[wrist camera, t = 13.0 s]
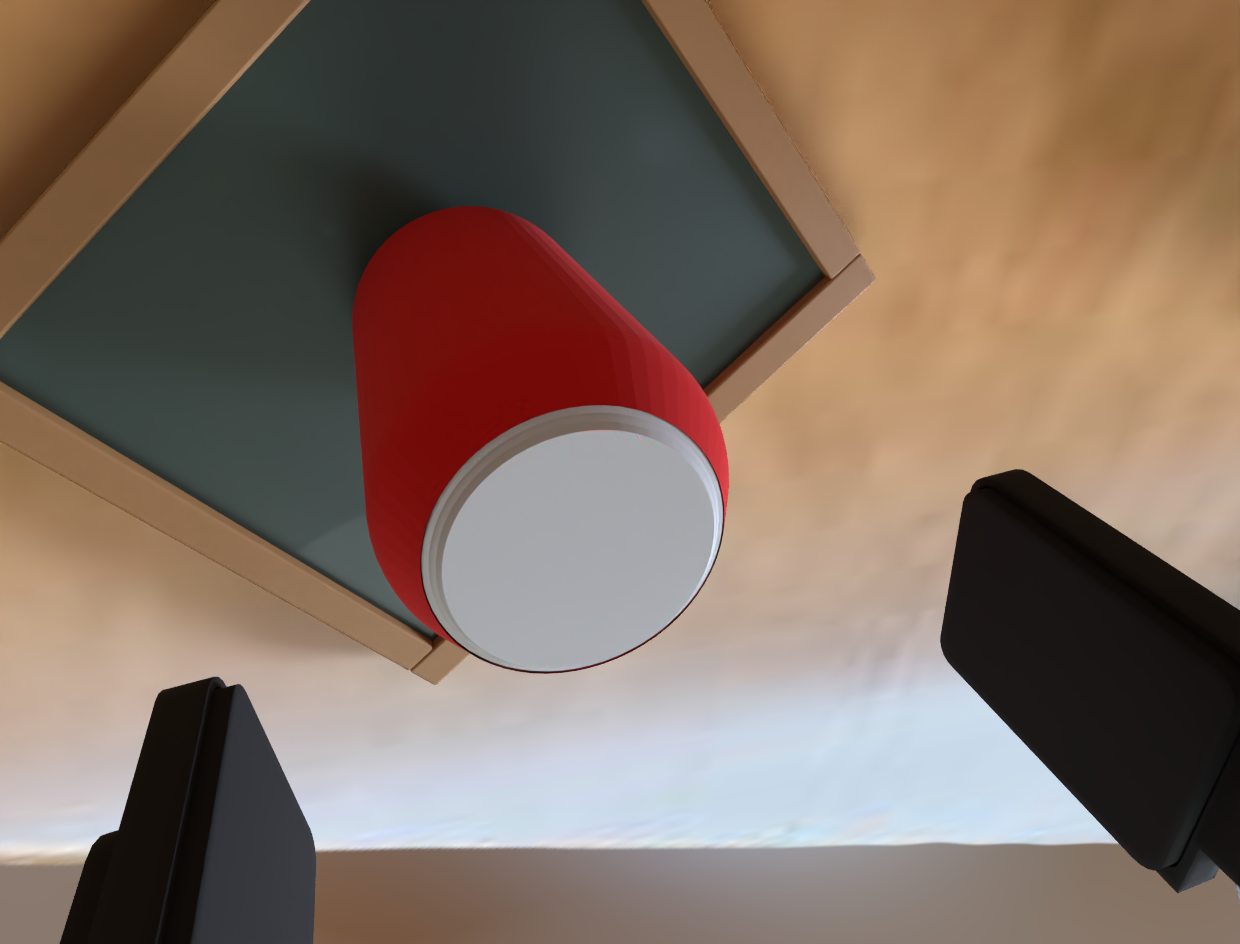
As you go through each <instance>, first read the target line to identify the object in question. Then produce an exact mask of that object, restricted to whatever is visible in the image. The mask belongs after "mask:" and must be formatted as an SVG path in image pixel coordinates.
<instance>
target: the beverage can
mask: <svg viewBox="0 0 1240 944" xmlns="http://www.w3.org/2000/svg"><path fill="white" fill-rule="evenodd" d="M352 331H353V346H354V359H355V373H356V386H357V399H358V413H359V426H360V440H361V453H362V467H363V480H364V494H365V507H366V519H367V525H368V530H369V536H370V540H371V543H372V546H373V550H374V553H375V556H376V559H377V561H378V563H379V565H380V567H381V569H382V572H383V574H384V576H385V578H386V579H387V581H388V582H389V584H390V586H391V587H392V589H393V590H394V592H395V593H396V595H397V596H398V597H399V599H400V600H401V601H402V602H403V604H404V605H405V606H406V607H407V608H408V610H409V611H410V612H411V613H412V614H413V615H415V616H416V617H417V618H418V619H419V620H420V621H421V622H422V623H423V624H424V625H426V626H427V627H428V628H430V629H431V630H432V631H434V632H435V633H436V634H438V635H439V636H441V637H443V638H444V639H446V640H448V641H450V642H451V643H453V644H455V645H456V646H458V647H460V648H462V649H463V650H465V651H467V652H469V653H470V654H472V655H474V656H475V657H477V658H479V659H481V660H483V661H486V662H488V663H490V664H493V665H496V666H499V667H502V668H505V669H510V670H514V671H519V672H527V673H544V674H548V673H563V672H571V671H577V670H582V669H586V668H591V667H594V666H597V665H601V664H604V663H606V662H609V661H612V660H614V659H617V658H619V657H621V656H623V655H625V654H627V653H630V652H632V651H633V650H635V649H637V648H639V647H640V646H642V645H644V644H645V643H647V642H648V641H650V640H651V639H653V638H654V637H656V636H657V635H658V634H660V633H661V632H662V631H663V630H665V629H666V628H667V627H668V626H669V625H670V624H672V623H673V622H674V621H675V620H676V619H677V618H678V617H679V616H680V615H681V614H682V613H683V612H684V610H685V609H686V608H687V607H688V606H689V605H690V604H691V602H692V601H693V600H694V598H695V597H696V596H697V594H698V593H699V591H700V590H701V588H702V587H703V585H704V584H705V582H706V580H707V578H708V576H709V574H710V572H711V570H712V568H713V566H714V563H715V561H716V559H717V555H718V552H719V549H720V546H721V541H722V536H723V530H724V522H725V515H726V507H727V499H728V488H729V467H728V459H727V452H726V446H725V442H724V438H723V434H722V430H721V427H720V425H719V422H718V419H717V417H716V414H715V412H714V409H713V407H712V406H711V404H710V402H709V400H708V398H707V396H706V394H705V393H704V391H703V390H702V388H701V387H700V385H699V384H698V383H697V381H696V380H695V378H694V377H693V376H692V375H691V373H690V372H689V371H688V370H687V369H686V368H685V367H684V366H683V365H682V364H681V363H680V362H679V361H678V360H677V359H676V358H675V357H674V356H673V355H672V354H671V353H670V352H669V351H668V350H667V349H666V348H665V347H664V346H663V345H662V344H661V343H660V342H659V341H658V340H657V339H656V338H655V337H654V336H652V335H651V334H650V333H649V332H648V331H647V330H646V329H645V328H644V327H643V326H642V325H641V324H640V323H639V322H638V321H637V320H636V319H635V318H634V317H633V316H632V315H631V314H630V313H629V312H628V311H627V310H626V309H624V308H623V307H622V306H621V305H620V304H619V303H618V302H617V301H616V300H615V299H614V298H613V297H612V296H611V295H610V294H609V293H608V292H607V291H606V290H605V289H604V288H603V287H602V286H601V285H600V284H599V283H598V282H596V281H595V280H594V279H593V278H592V277H591V276H590V275H589V274H588V273H587V272H586V271H585V270H584V269H583V268H582V267H581V266H580V265H579V264H578V263H577V262H576V261H575V260H574V259H573V258H572V257H571V256H570V255H568V254H567V253H566V252H565V251H564V250H563V249H562V248H561V247H560V246H559V245H558V244H557V243H556V242H555V241H554V240H553V239H552V238H551V237H550V236H548V235H547V234H546V233H545V232H544V231H542V230H541V229H540V228H538V227H537V226H535V225H534V224H532V223H530V222H529V221H527V220H525V219H523V218H521V217H519V216H516V215H514V214H511V213H509V212H505V211H502V210H498V209H494V208H488V207H478V206H462V207H453V208H447V209H442V210H439V211H435V212H431V213H429V214H426V215H424V216H421V217H419V218H417V219H415V220H414V221H412V222H410V223H408V224H406V225H405V226H404V227H402V228H401V229H399V230H398V231H396V232H395V233H394V234H393V235H392V236H391V237H390V238H388V239H387V240H386V241H385V242H384V243H383V245H382V246H381V247H380V248H379V249H378V250H377V252H376V253H375V254H374V256H373V257H372V258H371V260H370V262H369V263H368V265H367V267H366V269H365V270H364V272H363V275H362V277H361V279H360V282H359V284H358V288H357V291H356V295H355V299H354V305H353V313H352Z"/></svg>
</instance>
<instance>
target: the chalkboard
mask: <svg viewBox="0 0 1240 944" xmlns="http://www.w3.org/2000/svg"><path fill="white" fill-rule="evenodd" d="M462 206H478V207H488V208H494V209H498V210H502V211H505V212H509V213H511V214H514V215H516V216H519V217H521V218H523V219H525V220H527V221H529V222H530V223H532V224H534V225H535V226H537V227H538V228H540V229H541V230H542V231H544V232H545V233H546V234H547V235H548V236H550V237H551V238H552V239H553V240H554V241H555V242H556V243H557V244H558V245H559V246H560V247H561V248H562V249H563V250H564V251H565V252H566V253H567V254H568V255H570V256H571V257H572V258H573V259H574V260H575V261H576V262H577V263H578V264H579V265H580V266H581V267H582V268H583V269H584V270H585V271H586V272H587V273H588V274H589V275H590V276H591V277H592V278H593V279H594V280H595V281H596V282H598V283H599V284H600V285H601V286H602V287H603V288H604V289H605V290H606V291H607V292H608V293H609V294H610V295H611V296H612V297H613V298H614V299H615V300H616V301H617V302H618V303H619V304H620V305H621V306H622V307H623V308H624V309H626V310H627V311H628V312H629V313H630V314H631V315H632V316H633V317H634V318H635V319H636V320H637V321H638V322H639V323H640V324H641V325H642V326H643V327H644V328H645V329H646V330H647V331H648V332H649V333H650V334H651V335H652V336H654V337H655V338H656V339H657V340H658V341H659V342H660V343H661V344H662V345H663V346H664V347H665V348H666V349H667V350H668V351H669V352H670V353H671V354H672V355H673V356H674V357H675V358H676V359H677V360H678V361H679V362H680V363H681V364H682V365H683V366H684V367H685V368H686V369H687V370H688V371H689V372H690V373H691V375H692V376H693V377H694V378H695V380H696V381H697V383H698V384H699V385H700V387H701V388H702V390H703V391H704V393H705V394H706V396H707V398H708V400H709V402H710V404H711V406H712V407H713V409H714V412H715V414H716V417H717V419H718V422H719V424H720V423H721V422H722V421H723V420H725V419H726V418H727V417H728V416H729V415H730V414H731V413H732V412H733V411H734V410H735V409H736V408H738V407H739V406H740V405H741V404H742V403H743V402H744V401H745V400H746V399H747V398H748V397H749V396H751V395H752V394H753V393H754V392H755V391H756V390H757V389H758V388H759V387H760V386H761V385H763V384H764V383H765V382H766V381H767V380H768V379H769V378H770V377H771V376H772V375H773V374H774V373H776V372H777V371H778V370H779V369H780V368H781V367H782V366H783V365H784V364H785V363H786V362H788V361H789V360H790V359H791V358H792V357H793V356H794V355H795V354H796V353H797V352H798V351H799V350H801V349H802V348H803V347H804V346H805V345H806V344H807V343H808V342H809V341H810V340H811V339H813V338H814V337H815V336H816V335H817V334H818V333H819V332H820V331H821V330H822V329H823V328H824V327H826V326H827V325H828V324H829V323H830V322H831V321H832V320H833V319H834V318H835V317H836V316H838V315H839V314H840V313H841V312H842V311H843V310H844V309H845V308H846V307H847V306H848V305H849V304H851V303H852V302H853V301H854V300H855V299H856V298H857V297H858V296H859V295H860V294H861V293H863V292H864V291H865V290H866V289H867V288H868V287H869V286H870V285H871V284H872V283H873V282H874V281H875V280H876V278H875V276H874V274H873V273H872V271H871V269H870V268H869V266H868V264H867V263H866V261H865V260H864V258H863V256H862V255H861V254H860V251H859V249H858V247H857V246H856V244H855V243H854V241H853V239H852V238H851V236H850V234H849V233H848V231H847V230H846V228H845V226H844V225H843V223H842V221H841V220H840V218H839V217H838V215H837V213H836V212H835V210H834V208H833V207H832V205H831V204H830V202H829V200H828V199H827V197H826V195H825V194H824V192H823V191H822V189H821V187H820V186H819V184H818V183H817V181H816V179H815V178H814V176H813V174H812V173H811V171H810V170H809V168H808V166H807V165H806V163H805V161H804V160H803V158H802V157H801V155H800V153H799V152H798V150H797V148H796V147H795V145H794V144H793V142H792V140H791V139H790V137H789V135H788V134H787V132H786V131H785V129H784V127H783V126H782V124H781V123H780V121H779V119H778V118H777V116H776V114H775V113H774V111H773V110H772V108H771V106H770V105H769V103H768V101H767V100H766V98H765V97H764V95H763V93H762V92H761V90H760V88H759V87H758V85H757V84H756V82H755V80H754V79H753V77H752V75H751V74H750V72H749V71H748V69H747V67H746V66H745V64H744V63H743V61H742V59H741V58H740V56H739V54H738V53H737V51H736V50H735V48H734V46H733V45H732V43H731V41H730V40H729V38H728V37H727V35H726V33H725V32H724V30H723V28H722V27H721V25H720V24H719V22H718V20H717V19H716V17H715V15H714V14H713V12H712V11H711V9H710V7H709V6H708V4H707V3H706V1H705V0H215V2H214V3H213V4H212V5H211V6H210V7H209V8H208V9H207V11H206V12H205V13H204V14H203V15H202V16H201V17H200V18H199V19H198V21H197V22H196V23H195V24H194V25H193V26H192V27H191V28H190V29H189V31H188V32H187V33H186V34H185V35H184V36H183V37H182V38H181V40H180V41H179V42H178V43H177V44H176V45H175V46H174V47H173V48H172V50H171V51H170V52H169V53H168V54H167V55H166V56H165V57H164V58H163V60H162V61H161V62H160V63H159V64H158V65H157V66H156V67H155V69H154V70H153V71H152V72H151V73H150V74H149V75H148V76H147V77H146V79H145V80H144V81H143V82H142V83H141V84H140V85H139V86H138V87H137V89H136V90H135V91H134V92H133V93H132V94H131V95H130V96H129V97H128V99H127V100H126V101H125V102H124V103H123V104H122V105H121V106H120V108H119V109H118V110H117V111H116V112H115V113H114V114H113V115H112V116H111V118H110V119H109V120H108V121H107V122H106V123H105V124H104V125H103V126H102V128H101V129H100V130H99V131H98V132H97V133H96V134H95V135H94V137H93V138H92V139H91V140H90V141H89V142H88V143H87V144H86V145H85V147H84V148H83V149H82V150H81V151H80V152H79V153H78V154H77V155H76V157H75V158H74V159H73V160H72V161H71V162H70V163H69V164H68V165H67V167H66V168H65V169H64V170H63V171H62V172H61V173H60V174H59V176H58V177H57V178H56V179H55V180H54V181H53V182H52V183H51V184H50V186H49V187H48V188H47V189H46V190H45V191H44V192H43V193H42V194H41V196H40V197H39V198H38V199H37V200H36V201H35V202H34V203H33V205H32V206H31V207H30V208H29V209H28V210H27V211H26V212H25V213H24V215H23V216H22V217H21V218H20V219H19V220H18V221H17V222H16V223H15V225H14V226H13V227H12V228H11V229H10V230H9V231H8V232H7V233H6V235H5V236H4V237H3V238H2V239H1V240H0V441H1V442H2V443H4V444H6V445H8V446H10V447H11V448H13V449H15V450H17V451H18V452H20V453H22V454H24V455H26V456H27V457H29V458H31V459H33V460H35V461H36V462H38V463H40V464H42V465H43V466H45V467H47V468H49V469H51V470H52V471H54V472H56V473H58V474H59V475H61V476H63V477H65V478H67V479H68V480H70V481H72V482H74V483H76V484H77V485H79V486H81V487H83V488H84V489H86V490H88V491H90V492H92V493H93V494H95V495H97V496H99V497H100V498H102V499H104V500H106V501H108V502H109V503H111V504H113V505H115V506H117V507H118V508H120V509H122V510H124V511H125V512H127V513H129V514H131V515H133V516H134V517H136V518H138V519H140V520H142V521H143V522H145V523H147V524H149V525H150V526H152V527H154V528H156V529H158V530H159V531H161V532H163V533H165V534H166V535H168V536H170V537H172V538H174V539H175V540H177V541H179V542H181V543H183V544H184V545H186V546H188V547H190V548H191V549H193V550H195V551H197V552H199V553H200V554H202V555H204V556H206V557H207V558H209V559H211V560H213V561H215V562H216V563H218V564H220V565H222V566H224V567H225V568H227V569H229V570H231V571H232V572H234V573H236V574H238V575H240V576H241V577H243V578H245V579H247V580H248V581H250V582H252V583H254V584H256V585H257V586H259V587H261V588H263V589H265V590H266V591H268V592H270V593H272V594H273V595H275V596H277V597H279V598H281V599H282V600H284V601H286V602H288V603H290V604H291V605H293V606H295V607H297V608H298V609H300V610H302V611H304V612H306V613H307V614H309V615H311V616H313V617H314V618H316V619H318V620H320V621H322V622H323V623H325V624H327V625H329V626H331V627H332V628H334V629H336V630H338V631H339V632H341V633H343V634H345V635H347V636H348V637H350V638H352V639H354V640H355V641H357V642H359V643H361V644H363V645H364V646H366V647H368V648H370V649H372V650H373V651H375V652H377V653H379V654H380V655H382V656H384V657H386V658H388V659H389V660H391V661H393V662H395V663H396V664H398V665H400V666H402V667H404V668H405V669H407V670H411V672H413V673H414V674H416V675H418V676H420V677H421V678H423V679H425V680H427V681H429V682H430V683H432V684H434V685H436V684H438V683H439V682H440V681H441V680H442V679H443V678H444V677H445V676H446V675H447V674H448V673H450V672H451V671H452V670H453V669H454V668H455V667H456V666H457V665H458V664H459V663H460V662H462V661H463V660H464V659H465V658H466V657H467V656H468V655H469V654H470V653H469V652H467V651H465V650H463V649H462V648H460V647H458V646H456V645H455V644H453V643H451V642H450V641H448V640H446V639H444V638H443V637H441V636H439V635H438V634H436V633H435V632H434V631H432V630H431V629H430V628H428V627H427V626H426V625H424V624H423V623H422V622H421V621H420V620H419V619H418V618H417V617H416V616H415V615H413V614H412V613H411V612H410V611H409V610H408V608H407V607H406V606H405V605H404V604H403V602H402V601H401V600H400V599H399V597H398V596H397V595H396V593H395V592H394V590H393V589H392V587H391V586H390V584H389V582H388V581H387V579H386V578H385V576H384V574H383V572H382V569H381V567H380V565H379V563H378V561H377V559H376V556H375V553H374V550H373V546H372V543H371V540H370V536H369V530H368V525H367V519H366V507H365V494H364V480H363V467H362V453H361V440H360V426H359V413H358V399H357V386H356V373H355V359H354V346H353V331H352V313H353V305H354V299H355V295H356V291H357V288H358V284H359V282H360V279H361V277H362V275H363V272H364V270H365V269H366V267H367V265H368V263H369V262H370V260H371V258H372V257H373V256H374V254H375V253H376V252H377V250H378V249H379V248H380V247H381V246H382V245H383V243H384V242H385V241H386V240H387V239H388V238H390V237H391V236H392V235H393V234H394V233H395V232H396V231H398V230H399V229H401V228H402V227H404V226H405V225H406V224H408V223H410V222H412V221H414V220H415V219H417V218H419V217H421V216H424V215H426V214H429V213H431V212H435V211H439V210H442V209H447V208H453V207H462Z"/></svg>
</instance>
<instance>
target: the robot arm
mask: <svg viewBox="0 0 1240 944" xmlns="http://www.w3.org/2000/svg"><path fill="white" fill-rule="evenodd" d="M940 643H941V648H942V651H943V654H944V656H945V658H946V659H947V661H948V662H949V664H950V665H951V666H952V667H953V668H954V669H955V670H956V671H957V672H958V673H959V674H960V676H961V677H962V678H963V679H964V680H965V681H966V682H967V683H968V684H969V685H970V686H971V687H972V688H973V689H974V690H975V691H976V692H977V694H978V695H979V696H980V697H981V698H982V699H983V700H984V701H985V702H986V703H987V704H988V705H989V706H990V707H991V708H992V709H993V710H994V712H995V713H996V714H997V715H998V716H999V717H1000V718H1001V719H1002V720H1003V721H1004V722H1005V723H1006V724H1007V725H1008V726H1009V727H1010V728H1011V730H1012V731H1013V732H1014V733H1015V734H1016V735H1017V736H1018V737H1019V738H1020V739H1021V740H1022V741H1023V742H1024V743H1025V744H1026V745H1027V746H1028V748H1029V749H1030V750H1031V751H1032V752H1033V753H1034V754H1035V755H1036V756H1037V757H1038V758H1039V759H1040V760H1041V761H1042V762H1043V763H1044V764H1045V766H1046V767H1047V768H1048V769H1049V770H1050V771H1051V772H1052V773H1053V774H1054V775H1055V776H1056V777H1057V778H1058V779H1059V780H1060V781H1061V782H1062V784H1063V785H1064V786H1065V787H1066V788H1067V789H1068V790H1069V791H1070V792H1071V793H1072V794H1073V795H1074V796H1075V797H1076V798H1077V799H1078V800H1079V801H1080V803H1081V804H1082V805H1083V806H1084V807H1085V808H1086V809H1087V810H1088V811H1089V812H1090V813H1091V814H1092V815H1093V816H1094V817H1095V818H1096V819H1097V821H1098V822H1099V823H1100V824H1101V825H1102V826H1103V827H1104V828H1105V829H1106V830H1107V831H1108V832H1109V833H1110V834H1111V835H1112V836H1113V837H1114V839H1115V840H1116V841H1117V842H1118V843H1119V844H1120V845H1121V846H1122V847H1123V848H1124V849H1125V850H1126V851H1127V852H1128V853H1129V854H1130V855H1131V857H1132V858H1134V859H1135V860H1136V861H1137V862H1138V863H1139V864H1141V865H1142V866H1144V867H1145V868H1147V869H1151V870H1156V871H1157V872H1158V873H1159V874H1160V875H1161V877H1162V878H1163V879H1164V880H1165V881H1166V882H1167V883H1168V884H1169V885H1170V886H1171V887H1172V888H1173V889H1174V890H1175V891H1176V892H1177V893H1179V892H1181V891H1184V890H1186V889H1188V888H1191V887H1194V886H1196V885H1198V884H1201V883H1203V882H1206V881H1208V880H1211V879H1213V878H1215V876H1216V874H1217V872H1218V870H1219V868H1220V869H1221V870H1222V871H1223V872H1224V873H1225V874H1226V875H1227V876H1229V878H1230V879H1232V880H1233V881H1234V882H1235V883H1236V888H1237V892H1238V896H1239V901H1240V610H1238V609H1237V608H1235V607H1234V606H1232V605H1231V604H1229V603H1228V602H1226V601H1225V600H1223V599H1222V598H1220V597H1218V596H1217V595H1215V594H1214V593H1212V592H1211V591H1209V590H1208V589H1206V588H1205V587H1203V586H1202V585H1200V584H1199V583H1197V582H1196V581H1194V580H1192V579H1191V578H1189V577H1188V576H1186V575H1185V574H1183V573H1182V572H1180V571H1179V570H1177V569H1176V568H1174V567H1173V566H1171V565H1170V564H1168V563H1167V562H1165V561H1163V560H1162V559H1160V558H1159V557H1157V556H1156V555H1154V554H1153V553H1151V552H1150V551H1148V550H1147V549H1145V548H1144V547H1142V546H1141V545H1139V544H1137V543H1136V542H1134V541H1133V540H1131V539H1130V538H1128V537H1127V536H1125V535H1124V534H1122V533H1121V532H1119V531H1118V530H1116V529H1115V528H1113V527H1112V526H1110V525H1108V524H1107V523H1105V522H1104V521H1102V520H1101V519H1099V518H1098V517H1096V516H1095V515H1093V514H1092V513H1090V512H1089V511H1087V510H1086V509H1084V508H1082V507H1081V506H1079V505H1078V504H1076V503H1075V502H1073V501H1072V500H1070V499H1069V498H1067V497H1066V496H1064V495H1063V494H1061V493H1060V492H1058V491H1057V490H1055V489H1053V488H1052V487H1050V486H1049V485H1047V484H1046V483H1044V482H1043V481H1041V480H1040V479H1038V478H1037V477H1035V476H1034V475H1032V474H1031V473H1029V472H1027V471H1024V470H1020V469H1015V470H1011V471H1007V472H1003V473H999V474H995V475H991V476H988V477H984V478H981V479H979V480H977V481H976V482H975V483H974V484H973V486H972V489H971V492H970V493H968V494H967V495H966V496H965V498H964V501H963V506H962V512H961V518H960V524H959V530H958V536H957V542H956V547H955V553H954V559H953V565H952V571H951V577H950V583H949V589H948V595H947V601H946V607H945V613H944V619H943V625H942V631H941V639H940ZM315 874H316V854H315V846H314V840H313V837H312V833H311V830H310V828H309V826H308V824H307V821H306V819H305V817H304V815H303V813H302V811H301V809H300V806H299V804H298V802H297V800H296V798H295V796H294V794H293V791H292V789H291V787H290V785H289V783H288V781H287V779H286V777H285V774H284V772H283V770H282V768H281V766H280V764H279V762H278V759H277V757H276V755H275V753H274V751H273V749H272V747H271V744H270V742H269V740H268V738H267V736H266V734H265V732H264V729H263V727H262V725H261V723H260V721H259V719H258V717H257V714H256V712H255V710H254V708H253V706H252V704H251V702H250V699H249V697H248V695H247V693H246V691H245V689H244V688H243V687H242V686H241V685H240V684H237V685H233V686H229V687H226V685H225V683H224V682H223V680H221V679H220V678H219V677H212V678H208V679H204V680H200V681H196V682H192V683H188V684H185V685H181V686H177V687H173V688H169V689H165V690H162V691H161V692H160V693H159V694H158V696H157V698H156V701H155V704H154V707H153V711H152V714H151V718H150V721H149V725H148V728H147V732H146V735H145V739H144V742H143V746H142V750H141V753H140V757H139V760H138V764H137V767H136V771H135V774H134V778H133V781H132V785H131V788H130V792H129V795H128V799H127V803H126V806H125V810H124V813H123V817H122V820H121V824H120V827H119V830H117V831H114V832H111V833H108V834H105V835H102V836H100V837H99V838H98V840H97V841H96V842H95V843H94V844H93V845H92V847H91V850H90V852H89V854H88V856H87V859H86V861H85V864H84V867H83V871H82V874H81V877H80V881H79V883H78V887H77V890H76V893H75V896H74V899H73V903H72V906H71V909H70V912H69V915H68V919H67V922H66V925H65V929H64V931H63V935H62V939H61V941H60V944H313V930H314V903H315V876H316V875H315Z"/></svg>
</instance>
